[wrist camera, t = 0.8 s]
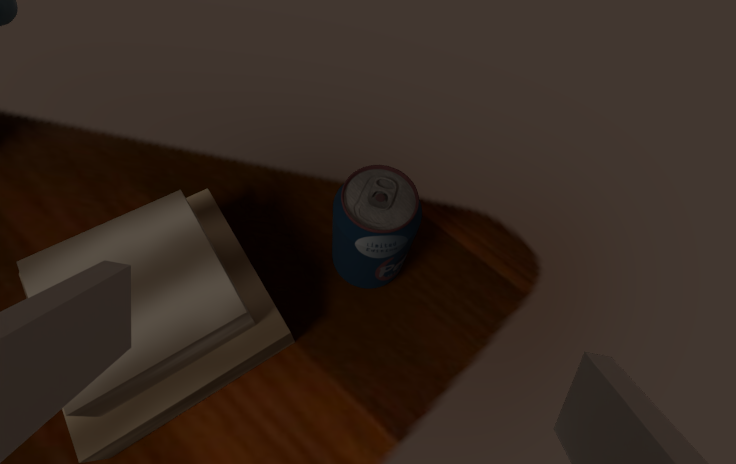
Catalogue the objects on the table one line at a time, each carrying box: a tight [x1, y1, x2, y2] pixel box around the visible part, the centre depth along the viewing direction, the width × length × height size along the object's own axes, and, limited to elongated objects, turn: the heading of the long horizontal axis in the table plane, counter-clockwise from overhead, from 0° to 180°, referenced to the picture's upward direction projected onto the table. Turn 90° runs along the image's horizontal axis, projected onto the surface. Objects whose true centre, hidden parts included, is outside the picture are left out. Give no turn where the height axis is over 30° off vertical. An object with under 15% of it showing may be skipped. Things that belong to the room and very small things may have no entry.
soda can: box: [332, 165, 422, 288], centre depth 33 cm, size 7×7×12 cm
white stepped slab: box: [17, 189, 295, 463], centre depth 31 cm, size 16×16×8 cm
